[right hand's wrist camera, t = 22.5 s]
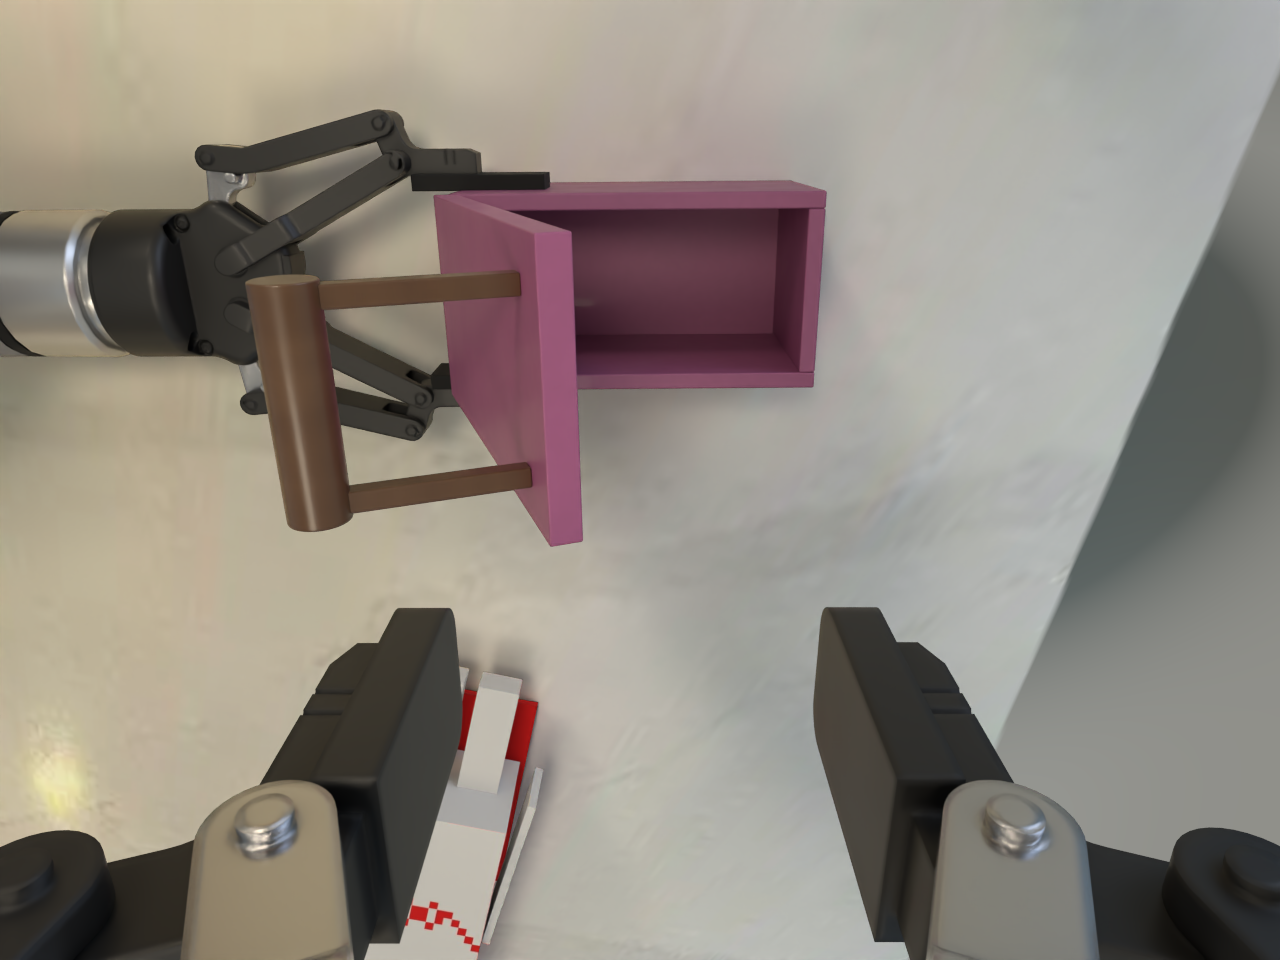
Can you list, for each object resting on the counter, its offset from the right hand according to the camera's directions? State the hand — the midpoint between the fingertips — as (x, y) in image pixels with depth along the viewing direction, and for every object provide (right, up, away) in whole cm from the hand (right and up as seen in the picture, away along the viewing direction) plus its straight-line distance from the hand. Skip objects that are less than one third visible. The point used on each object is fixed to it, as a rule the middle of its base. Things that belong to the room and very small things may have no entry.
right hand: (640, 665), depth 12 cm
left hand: (-5, +13, +33) cm, 36 cm away
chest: (0, +15, +38) cm, 41 cm away
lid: (-5, +8, +21) cm, 23 cm away
